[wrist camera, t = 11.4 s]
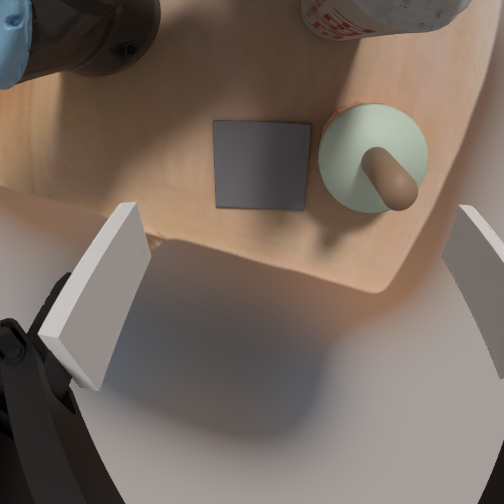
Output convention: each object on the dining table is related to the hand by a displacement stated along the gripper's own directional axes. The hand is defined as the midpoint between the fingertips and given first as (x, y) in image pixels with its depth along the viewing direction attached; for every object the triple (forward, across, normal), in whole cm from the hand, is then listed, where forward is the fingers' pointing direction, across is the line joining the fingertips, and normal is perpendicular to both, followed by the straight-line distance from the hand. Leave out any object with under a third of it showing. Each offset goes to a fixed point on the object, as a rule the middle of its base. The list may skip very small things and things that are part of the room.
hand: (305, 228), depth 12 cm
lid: (+23, +10, -6) cm, 26 cm away
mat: (+28, -3, -9) cm, 30 cm away
